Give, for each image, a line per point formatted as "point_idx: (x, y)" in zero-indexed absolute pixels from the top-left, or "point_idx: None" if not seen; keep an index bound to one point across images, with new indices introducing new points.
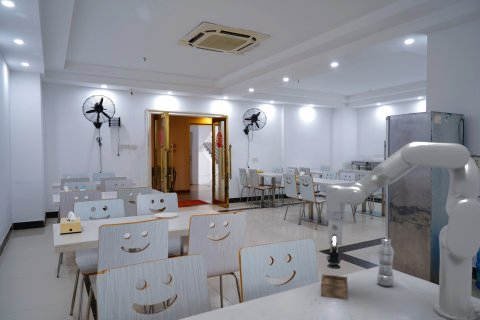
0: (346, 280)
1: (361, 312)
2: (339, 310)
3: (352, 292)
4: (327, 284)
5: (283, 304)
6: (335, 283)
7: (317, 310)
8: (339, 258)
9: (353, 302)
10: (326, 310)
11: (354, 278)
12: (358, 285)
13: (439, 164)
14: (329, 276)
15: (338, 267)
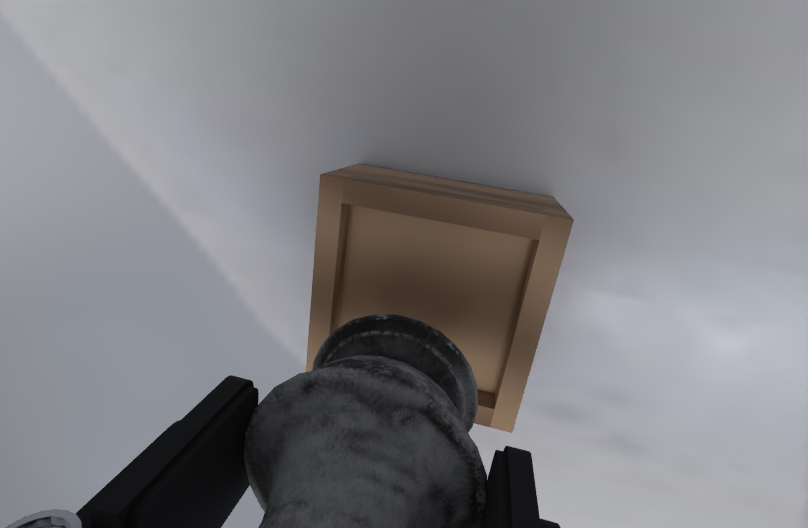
0: (417, 200)
1: (801, 131)
2: (748, 295)
3: (408, 128)
4: (524, 385)
5: None
6: (437, 293)
7: (737, 432)
8: (403, 423)
9: (603, 159)
10: (741, 380)
11: (122, 54)
12: (256, 46)
13: None
14: (331, 329)
15: (445, 357)
